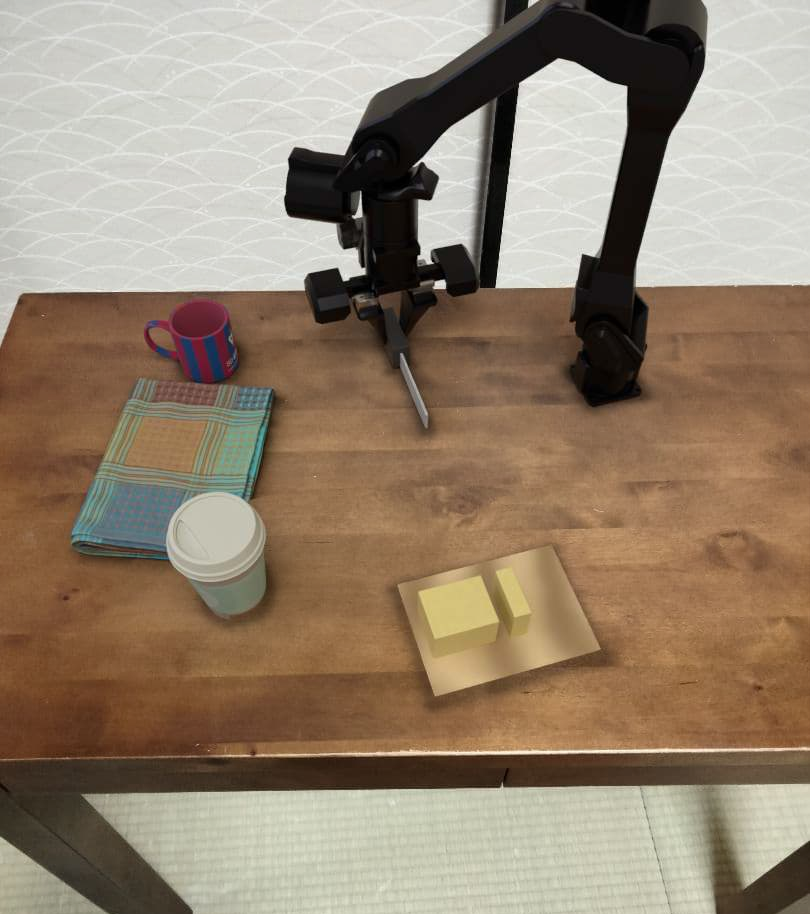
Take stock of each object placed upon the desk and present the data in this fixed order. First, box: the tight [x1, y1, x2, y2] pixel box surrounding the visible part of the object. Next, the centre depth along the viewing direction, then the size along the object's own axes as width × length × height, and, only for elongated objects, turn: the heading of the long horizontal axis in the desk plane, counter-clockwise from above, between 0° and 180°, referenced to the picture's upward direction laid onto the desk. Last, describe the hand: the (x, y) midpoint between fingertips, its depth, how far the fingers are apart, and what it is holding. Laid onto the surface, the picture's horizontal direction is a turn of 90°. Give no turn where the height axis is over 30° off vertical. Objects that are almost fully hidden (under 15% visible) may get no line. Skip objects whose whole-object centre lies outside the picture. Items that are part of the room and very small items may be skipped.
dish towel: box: [69, 376, 277, 561], centre depth 87 cm, size 17×23×2 cm
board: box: [396, 544, 602, 697], centre depth 77 cm, size 16×12×2 cm
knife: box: [382, 306, 429, 429], centre depth 94 cm, size 2×17×3 cm, turn 17°
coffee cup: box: [166, 492, 267, 621], centre depth 74 cm, size 8×8×12 cm
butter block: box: [418, 575, 499, 658], centre depth 74 cm, size 6×5×4 cm
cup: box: [143, 298, 240, 384], centre depth 94 cm, size 7×10×7 cm
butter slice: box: [492, 567, 531, 638], centre depth 75 cm, size 2×5×4 cm, turn 16°
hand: (393, 340), depth 97 cm, fingers closed on knife, 2 cm apart
